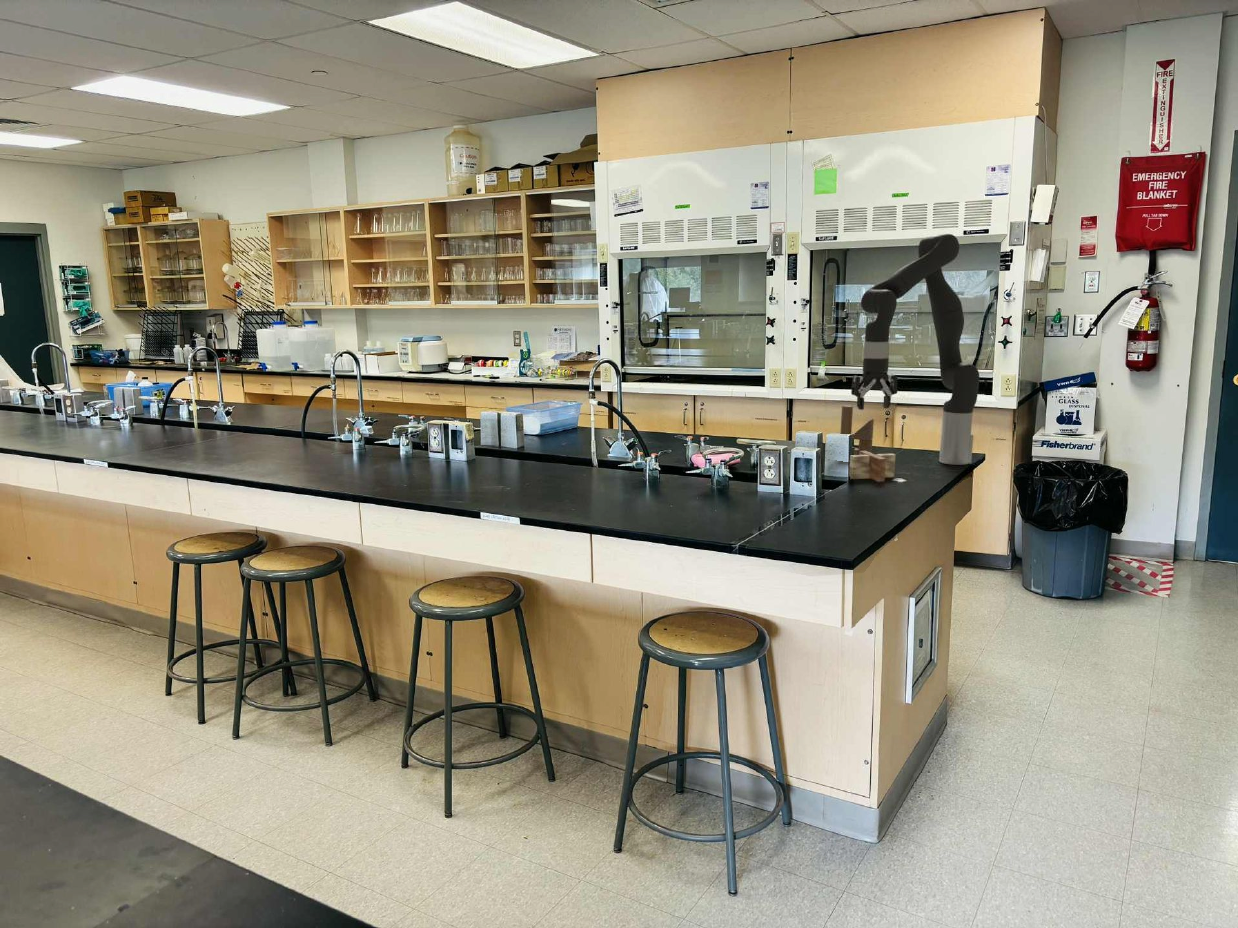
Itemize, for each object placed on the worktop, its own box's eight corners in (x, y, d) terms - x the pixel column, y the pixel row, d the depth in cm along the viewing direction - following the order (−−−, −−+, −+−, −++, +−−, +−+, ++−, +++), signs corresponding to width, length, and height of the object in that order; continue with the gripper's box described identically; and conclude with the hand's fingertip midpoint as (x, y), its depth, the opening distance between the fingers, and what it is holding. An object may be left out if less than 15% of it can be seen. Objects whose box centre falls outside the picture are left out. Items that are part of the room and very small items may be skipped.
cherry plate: (864, 472, 273) (865, 450, 272) (884, 481, 261) (886, 458, 259) (857, 472, 273) (859, 450, 271) (877, 481, 260) (879, 459, 259)
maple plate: (890, 475, 269) (891, 453, 267) (894, 477, 267) (895, 454, 265) (848, 477, 266) (850, 455, 265) (852, 479, 264) (853, 456, 262)
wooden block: (868, 461, 289) (871, 408, 286) (837, 458, 295) (839, 406, 292) (871, 460, 292) (874, 407, 289) (840, 456, 298) (843, 404, 295)
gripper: (890, 354, 269) (888, 406, 272) (848, 356, 266) (846, 408, 269) (903, 356, 262) (900, 409, 265) (860, 358, 259) (858, 411, 262)
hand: (873, 408), depth 267 cm, fingers open, 8 cm apart
